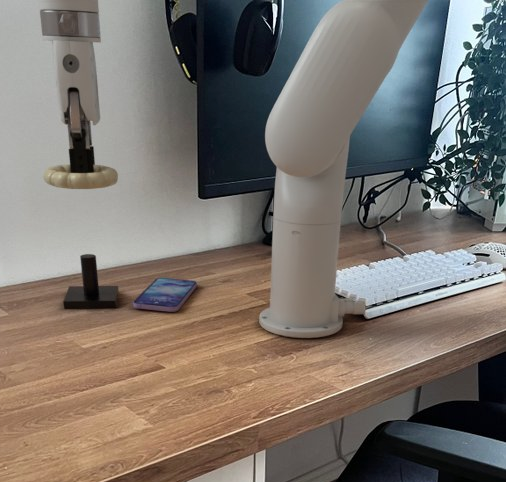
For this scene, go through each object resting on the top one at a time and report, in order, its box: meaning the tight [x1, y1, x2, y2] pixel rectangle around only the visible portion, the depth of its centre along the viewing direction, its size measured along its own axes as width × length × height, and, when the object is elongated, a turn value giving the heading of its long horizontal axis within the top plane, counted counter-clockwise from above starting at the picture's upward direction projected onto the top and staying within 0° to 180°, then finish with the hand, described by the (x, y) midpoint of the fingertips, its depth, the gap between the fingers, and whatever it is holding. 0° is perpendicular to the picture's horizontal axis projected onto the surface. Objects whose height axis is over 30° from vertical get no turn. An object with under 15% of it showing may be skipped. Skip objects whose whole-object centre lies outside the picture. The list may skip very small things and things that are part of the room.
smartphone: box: [132, 277, 198, 313], centre depth 114 cm, size 7×1×15 cm
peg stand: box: [63, 253, 119, 310], centre depth 110 cm, size 8×8×7 cm
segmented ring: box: [43, 163, 119, 190], centre depth 96 cm, size 10×10×2 cm
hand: (83, 176), depth 100 cm, fingers closed on segmented ring, 2 cm apart
